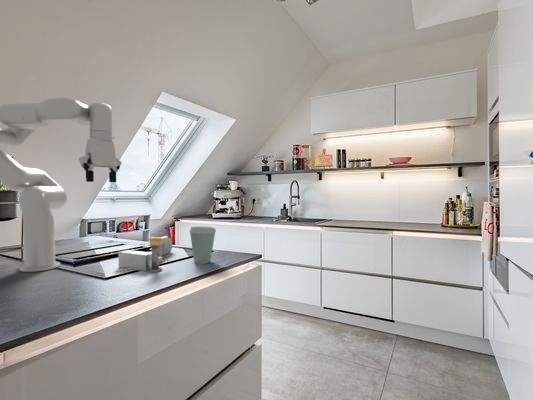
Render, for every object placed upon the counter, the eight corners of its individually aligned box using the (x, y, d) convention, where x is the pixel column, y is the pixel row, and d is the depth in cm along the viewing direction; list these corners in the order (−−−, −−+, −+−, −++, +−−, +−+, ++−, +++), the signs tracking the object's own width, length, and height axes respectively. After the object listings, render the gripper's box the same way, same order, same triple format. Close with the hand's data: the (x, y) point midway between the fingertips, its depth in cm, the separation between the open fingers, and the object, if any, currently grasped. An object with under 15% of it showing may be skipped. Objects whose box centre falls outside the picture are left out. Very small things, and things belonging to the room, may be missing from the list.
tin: (167, 251, 148) (167, 234, 148) (173, 251, 148) (173, 234, 147) (151, 258, 133) (151, 239, 133) (158, 259, 133) (158, 239, 133)
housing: (118, 267, 118) (117, 243, 118) (128, 264, 123) (128, 241, 122) (155, 272, 111) (155, 247, 110) (165, 269, 115) (164, 245, 115)
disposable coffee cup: (197, 258, 133) (197, 224, 133) (220, 260, 130) (220, 225, 130) (184, 264, 123) (184, 227, 122) (209, 266, 120) (208, 228, 120)
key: (161, 241, 123) (161, 233, 122) (171, 241, 122) (171, 234, 122) (146, 246, 112) (146, 238, 112) (158, 246, 111) (158, 238, 111)
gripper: (113, 140, 126) (114, 182, 126) (72, 133, 110) (73, 181, 110) (127, 139, 123) (127, 182, 123) (86, 132, 107) (87, 181, 107)
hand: (101, 182), depth 117 cm, fingers open, 9 cm apart
